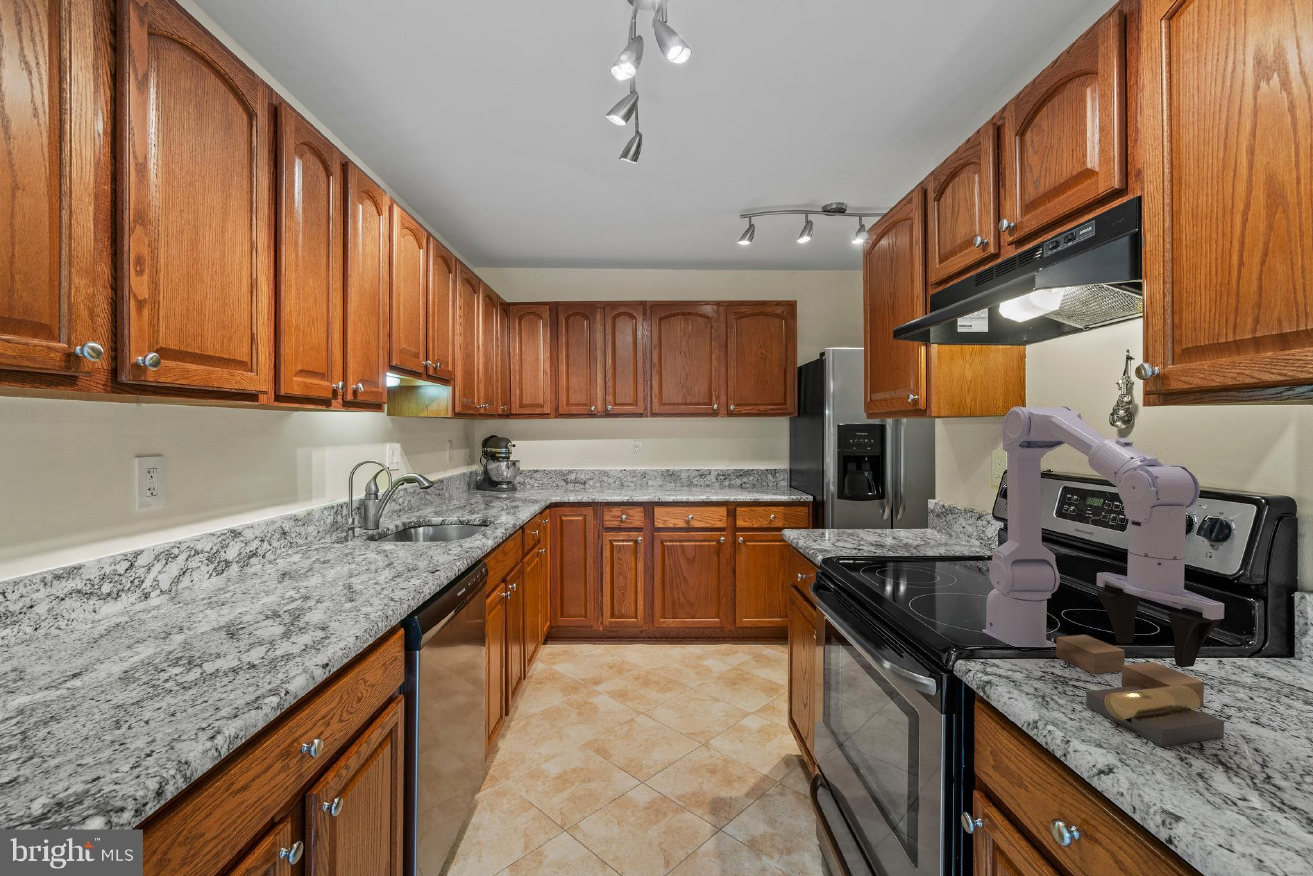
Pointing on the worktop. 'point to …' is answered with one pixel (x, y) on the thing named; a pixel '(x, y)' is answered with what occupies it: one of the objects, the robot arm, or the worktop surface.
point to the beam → (1121, 664)
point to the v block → (1162, 721)
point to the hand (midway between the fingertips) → (1153, 653)
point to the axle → (1151, 701)
